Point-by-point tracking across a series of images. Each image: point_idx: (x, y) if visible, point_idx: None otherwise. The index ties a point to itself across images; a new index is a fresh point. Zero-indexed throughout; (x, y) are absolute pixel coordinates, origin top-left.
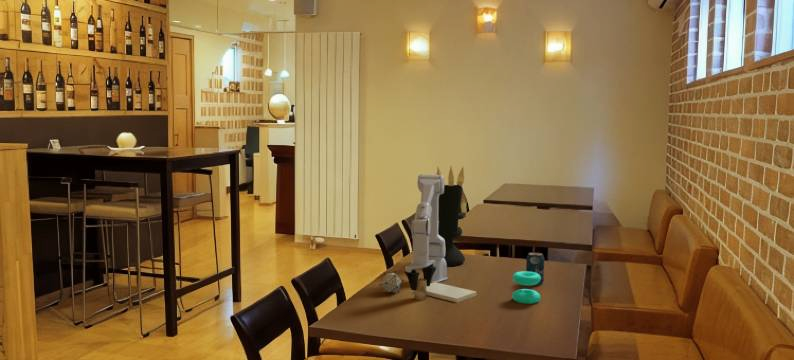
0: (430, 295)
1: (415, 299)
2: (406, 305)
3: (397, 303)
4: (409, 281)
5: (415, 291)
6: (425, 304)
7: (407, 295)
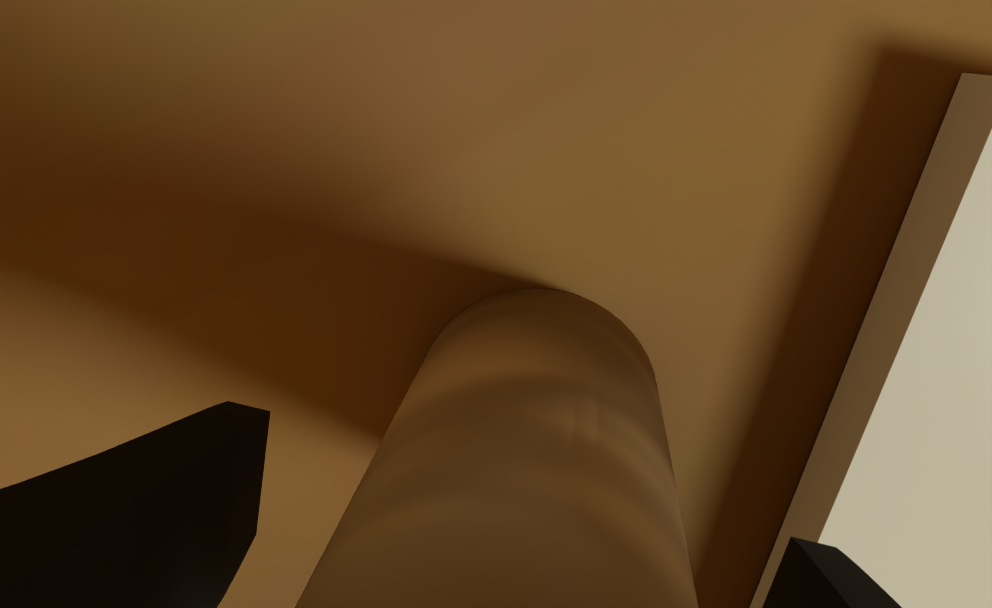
0: (797, 502)
1: (431, 346)
2: (36, 363)
3: (16, 162)
4: (27, 504)
5: (393, 421)
6: (279, 598)
7: (616, 52)
